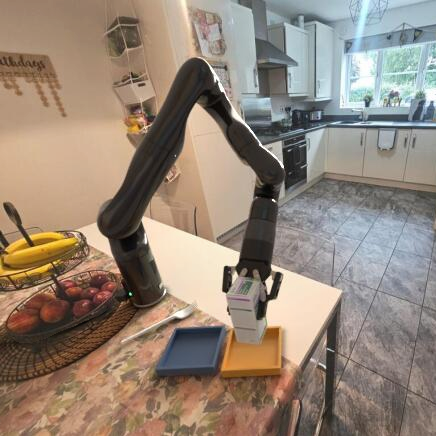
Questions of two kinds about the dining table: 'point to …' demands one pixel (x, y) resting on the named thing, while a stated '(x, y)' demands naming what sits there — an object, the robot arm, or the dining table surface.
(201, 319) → the dining table surface
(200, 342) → the blue tray
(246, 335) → the syrup box
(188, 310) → the fork
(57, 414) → the dining table surface
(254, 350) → the honey tray
